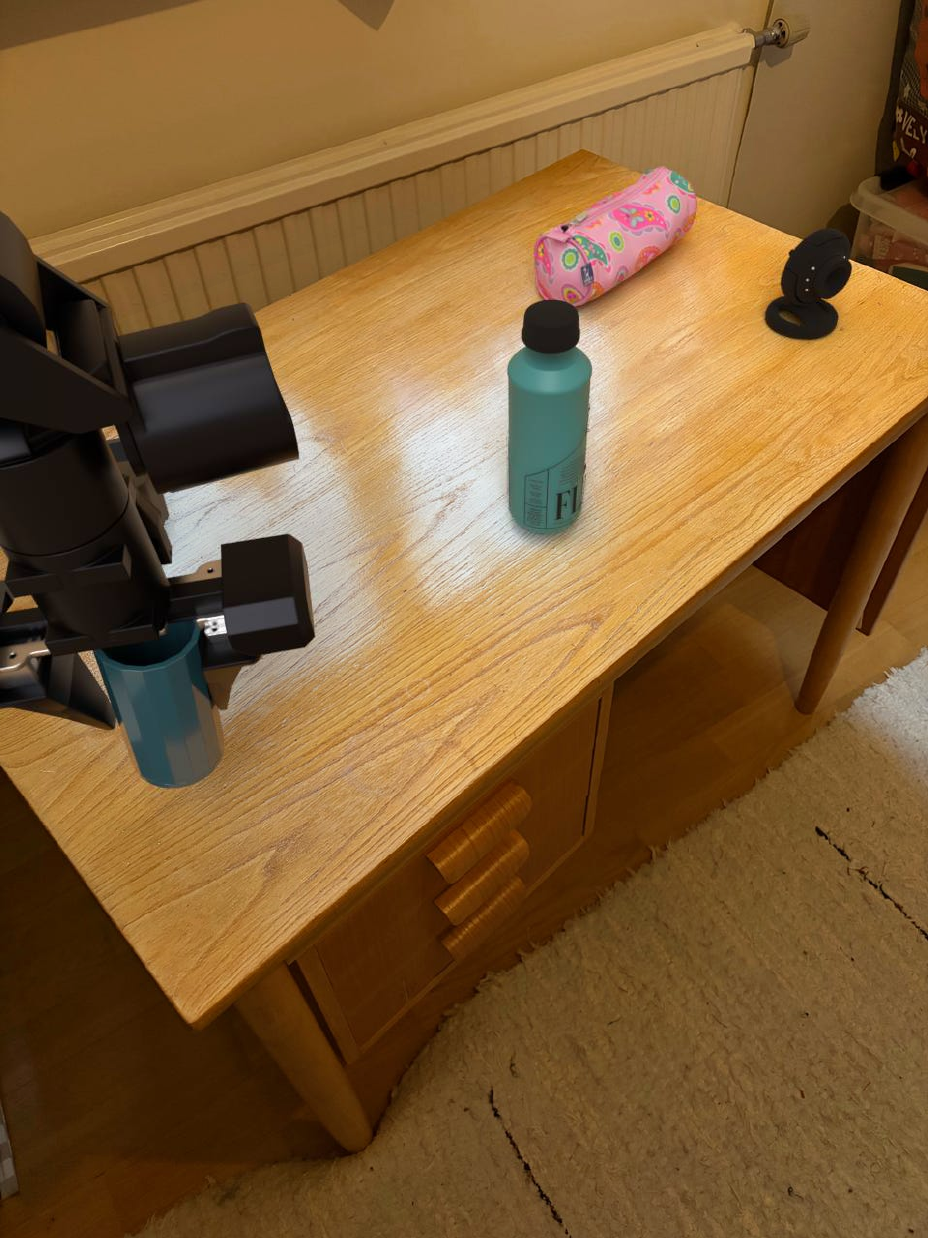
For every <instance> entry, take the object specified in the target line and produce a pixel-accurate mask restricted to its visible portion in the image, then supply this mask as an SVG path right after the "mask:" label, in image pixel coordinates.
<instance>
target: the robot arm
mask: <svg viewBox="0 0 928 1238" xmlns="http://www.w3.org/2000/svg"><path fill="white" fill-rule="evenodd" d="M47 331H49V332H52V333H51V334H52V340H53V348H54V352H55V353H54V352H53V351H51V350H50V349H48V336H47V334H48V333H47ZM280 389H281V388H280V387H279V385H278V382H277V380H276V378H275V374H274V371H273V368H272V366H271V362H270V360H269V356H268V353H267V350H266V347H265V342H264V338H263V333H262V330H261V327H260V325H259V322H258V319H257V318H256V314H255V313H254V311H253V308H252V306H251V305H250V304H248V303H247V302H244V301H243V302H238V303H233V304H229V305H224V306H221V307H218V308H215V309H212V310H210V311H208V312H206V313H204V314H203V315H200V316H197V317H194V318H189V319H185V320H180V321H177V322H172V323H168V324H163V325H159V326H155V327H151V328H146V329H141V330H138V331H133V332H129V333H124V334H119V333H118V330H117V327H116V324H115V320H114V316H113V311H112V307H111V305H110V304H109V303H108V302H107V301H105V300H104V299H102V298H101V297H99V296H98V295H96V294H94V293H93V292H92V291H90V290H89V289H88V288H86V287H84V286H83V285H81V284H80V283H78V282H76V281H75V280H74V279H72V278H71V277H70V276H68V275H67V274H66V273H63V272H62V271H61V270H59V269H57V268H56V267H54V266H53V265H51V264H50V263H49V262H47V261H46V260H44V259H43V258H42V257H39V256H38V255H37V254H35V253H34V252H33V249H32V247H31V245H30V243H29V240H28V238H27V237H26V236H25V234H24V233H23V232H22V231H21V230H20V228H19V227H18V225H16V223H15V222H14V221H13V220H12V219H11V217H10V216H8V215H7V214H6V213H4V212H3V211H1V210H0V549H1V550H2V552H3V553H4V555H5V557H6V558H7V560H8V561H7V566H6V571H5V576H4V579H3V580H2V579H1V580H0V710H3V709H16V710H21V711H27V712H31V713H37V714H41V715H46V716H52V717H57V718H60V719H63V720H68V721H71V722H75V723H78V724H82V725H86V726H88V727H93V728H97V729H100V730H104V731H114V730H115V729H116V722H117V719H116V716H115V713H114V710H113V708H112V705H111V702H110V699H109V696H108V694H106V692H105V690H104V689H103V687H102V685H100V683H99V681H98V680H97V679H96V677H95V676H94V674H93V673H92V671H91V670H90V669H89V667H88V665H87V664H86V662H85V661H84V660H83V658H82V657H81V655H80V654H79V653H86V652H91V651H92V650H97V649H103V648H109V647H115V646H121V645H127V644H133V643H138V642H144V641H150V640H156V639H159V636H161V635H164V634H166V633H167V632H168V628H169V624H171V623H177V622H183V621H189V620H195V619H196V621H197V623H198V626H199V628H200V630H201V670H202V673H203V675H204V678H205V681H206V683H207V686H208V688H209V691H210V693H211V696H212V699H213V701H214V703H215V705H216V706H217V707H218V709H219V711H226V710H228V708H229V703H230V697H231V693H232V687H233V684H234V683H235V681H236V679H237V678H238V676H239V674H240V672H241V670H242V669H243V668H244V667H248V666H253V665H256V664H257V663H258V662H259V661H260V660H261V659H262V656H264V655H270V654H276V653H281V652H282V653H283V652H288V651H293V650H299V649H303V648H304V649H305V648H306V647H307V646H309V645H310V644H311V642H312V641H313V640H314V639H315V638H316V628H315V620H314V619H315V618H314V611H313V610H314V609H313V600H312V592H311V584H310V574H309V566H308V561H307V557H306V553H305V549H304V544H303V542H302V541H300V540H299V539H298V538H296V537H295V536H293V535H292V534H290V533H281V534H276V535H271V536H270V535H269V536H263V537H258V538H251V539H245V540H239V541H233V542H226V543H221V544H220V559H217V560H210V561H206V562H204V563H202V564H201V565H200V566H199V567H198V568H197V570H196V571H195V572H193V573H188V574H183V575H176V576H169V577H168V576H167V574H166V572H165V570H164V568H163V566H166V565H171V564H173V548H174V547H173V545H172V542H171V540H170V538H169V535H168V533H167V530H166V527H165V524H166V522H167V520H169V519H170V512H169V509H168V505H167V501H166V499H165V495H164V494H167V493H170V494H175V493H179V492H183V491H186V490H190V489H194V488H197V487H200V486H204V485H208V484H212V483H214V482H219V481H223V480H226V479H230V478H231V479H232V478H234V477H237V476H241V475H245V474H249V473H252V472H256V471H257V472H258V471H260V470H264V469H268V468H271V467H276V466H278V465H283V464H286V463H289V462H290V463H291V462H294V461H297V460H299V459H300V450H299V445H298V439H297V434H296V431H295V427H294V423H293V418H292V415H291V413H290V411H289V407H288V406H287V404H286V403H287V402H286V401H285V399H284V397H283V394H282V391H281V390H280ZM109 427H114V428H115V431H116V434H117V436H118V438H120V441H121V444H122V446H123V449H124V451H125V454H126V456H127V459H128V461H123V462H116V460H115V458H114V456H113V454H112V451H111V449H110V447H109V444H108V442H107V440H108V439H107V438H106V435H105V433H104V431H103V429H105V428H109ZM28 596H29V597H30V596H31V598H32V600H33V601H34V603H35V605H36V607H30V608H24V609H17V610H11V611H8V610H9V609H10V608H11V606H12V605H13V604H14V601H15V599H16V598H22V597H28Z"/></svg>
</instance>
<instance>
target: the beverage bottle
mask: <svg viewBox="0 0 928 1238" xmlns="http://www.w3.org/2000/svg"><path fill="white" fill-rule="evenodd" d="M520 337H521V338H520V339H521V342H522V344H523V345H524V346H523V347H522V348H520V349H519V350H518V351H517V352H515V353H514V354H513V356H511V358H510V359H509V361H508V364H507V367H506V368H507V370H506V373H507V374H506V375H507V379H508V380H507V382H508V384H507V385H508V386H507V388H508V389H507V391H508V393H507V395H508V396H507V397H508V399H507V401H508V404H507V405H508V406H507V407H508V409H507V410H508V411H507V412H508V433H507V435H506V436H507V438H506V441H507V451H505V452H506V453H505V454H507V456H506V458H505V459H506V461H505V462H506V463H505V465H506V473H505V474H506V491H507V496H508V498H506V501H508V506H506V507H507V509H508V512H509V513H510V515H511V518H512V520H513V521H514V522H515V523H516V524H517V525H518V526H519V527H521V528H523V529H524V530H526V531H529V532H532V533H536V534H556V533H559V532H563V531H565V530H567V529H569V528H570V527H572V526H573V525H574V524H575V523H576V521H577V520H578V518H579V517H580V515H582V511H583V509H584V508H582V506H583V505H584V495H585V490H586V488H585V485H586V480H587V479H586V476H587V473H586V470H587V469H586V468H587V463H586V458H587V440H588V433H589V432H590V429H589V428H588V427H589V426H590V420H589V418H590V416H591V413H590V412H591V403H592V402H591V400H590V398H591V396H590V394H591V393H590V391H591V379H592V376H593V365H592V361H591V360H590V358H589V357H588V355H586V354H585V353H584V351H582V350H581V349H580V348H578V346H577V345H578V344H579V342H580V339H581V329H580V313H579V310H578V308H577V306H576V307H575V306H573V305H572V304H570V303H568V302H565V301H562V300H555V299H549V300H545V299H543V300H538V301H536V302H533V303H532V304H530V305H529V306H528V307H527V308H526V309H525V310H524V312H523V318H522V328H521V335H520Z"/></svg>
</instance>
